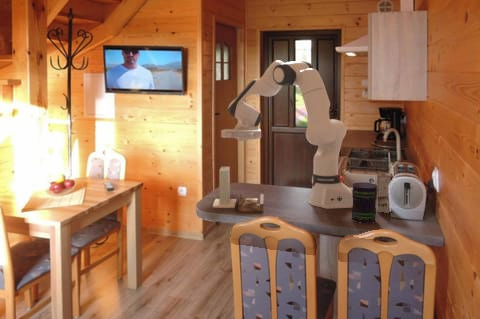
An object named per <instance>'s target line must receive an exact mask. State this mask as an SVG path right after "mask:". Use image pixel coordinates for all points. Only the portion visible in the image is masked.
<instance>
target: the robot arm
mask: <svg viewBox="0 0 480 319" xmlns="http://www.w3.org/2000/svg"><path fill="white" fill-rule="evenodd" d="M289 86H298V87H299V89H300V92H301V93H300V94H301V96H302V99H303V102H304V107H305V110H306V114H307V116H306V117H307V128H306V130H305V138H306V140H307V142H309V144H311V145H313V146H318V147H317V150H316V152H315V154H314V155H313V169H312V170H313V171H312V172H313V173H312V174H311V185H312V188H311V195H310V198H309V201H308V204H310V205H311V206H315V207H320V208H323V209H327V210H328V209H329V210H330V209H352V206H353V198H352V190H351V189H350V188H349V187H348V186H347V185H345V183H343V182H344V180H345V178H344V177H343V176H342V175H340V174H339V172H338V170H339V156H340V151H341V148H342V144H343V140H344V138H345V137H346V134H347V127H346V124H345V123H344V122H343V121H341V120H339V119H333V118H331V119H330V106H331V101H330V98H329V96H328V92H327V90H326V86H325V83H324V81H323V78H322V76H321V75H320V73H319V71H318V70H317V69H316V68H314V66H313V65H312V64H311V63H310V62H308V61H304V60H303V61H287V62H284V61H282V60H275V61H272V63H271V64H270V65H269V66H268V67H267V68H266V70H265V72H264V73H263V75H261V77H260V78H257V79H256V78H255V79H254V78H253V80H251V81H250V82H249V83H248V85H246V86H245V87H244V89H243V90H242V91H241V92H240V93H239V94H238V96H237V97H236V98H235V99H233V100H232V101H231V102H230V103H229V105H228V108H227V111H228V114H229V116H230V117H232V118H234V119H236V120H238V121H240V122H238V124H236V125H235V127H234V128H231V129H230V128H227V129H225V128H224V129H222V130H220V132H221V133H220V136H221V137H220V138H225V139H226V138H227V139H231V138H232V139H236V140H237V141H240V142H244V141H249V140H256V139H261V138H262V129H261V128H259V125H260V123H261V121H262V118H263V116H262V111H261V110H258V109H257V108H256V107H254V106H252V105H250V104H249V103H247V102H245V100H246V99H248V97H249V96H250V95H259V96H262V97H273V96H275V95H277V94H278V93H279V92H280V91H281V89H282V88H283V87H289Z"/></svg>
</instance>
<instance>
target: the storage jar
mask: <svg viewBox="0 0 480 319" xmlns="http://www.w3.org/2000/svg"><path fill="white" fill-rule="evenodd" d="M351 191H352V198H353V206H352V208H351V221H352V220H354V221H356V222H361V223H371V224H374V223H375V222H376V219H377V218H376V216H377V209H376V199H377V183H375V184H374V183H372V182H356V183H353V184H352V190H351ZM356 222H355V223H356ZM373 222H374V223H373ZM361 223H360V224H361Z"/></svg>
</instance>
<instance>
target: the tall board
mask: <svg viewBox="0 0 480 319" xmlns="http://www.w3.org/2000/svg"><path fill="white" fill-rule="evenodd" d="M218 171H219V173H218V175H219V176H218V177H219V182H218V183H219V199H220V205H229V201H230V199H231V167H230V166H221V167H220V168H219V170H218Z"/></svg>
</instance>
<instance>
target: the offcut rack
mask: <svg viewBox="0 0 480 319" xmlns="http://www.w3.org/2000/svg"><path fill="white" fill-rule="evenodd" d="M244 195H245V193H240V195H239V199H238V206H237V207H238V209H237V210H238V212H256V213H257V212H262V213H263V212H264V201H265V200H264V198H265V197H264V193H260V197H259V198H260V199H259V203H257V204H244V202H245V200H244V199H245V198H244V197H245V196H244Z"/></svg>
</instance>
